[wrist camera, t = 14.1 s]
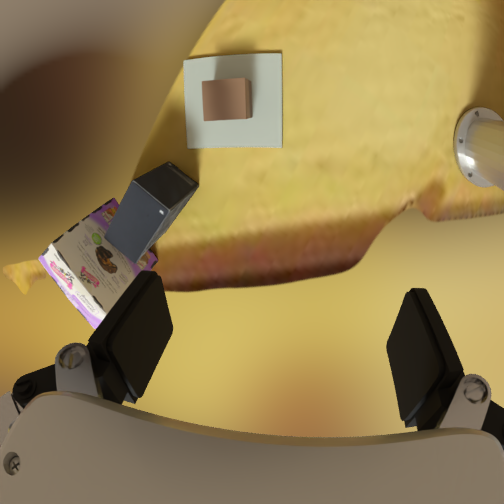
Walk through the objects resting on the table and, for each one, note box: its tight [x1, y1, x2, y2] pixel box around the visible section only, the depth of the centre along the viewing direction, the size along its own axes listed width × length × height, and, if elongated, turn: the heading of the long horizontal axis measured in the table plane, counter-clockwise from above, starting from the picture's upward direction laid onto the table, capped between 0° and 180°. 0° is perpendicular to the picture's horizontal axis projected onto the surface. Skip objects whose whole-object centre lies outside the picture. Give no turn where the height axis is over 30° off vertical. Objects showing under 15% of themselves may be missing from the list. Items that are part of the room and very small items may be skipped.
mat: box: [184, 53, 282, 149], centre depth 33 cm, size 13×13×1 cm
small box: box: [104, 162, 199, 264], centre depth 37 cm, size 11×6×10 cm, turn 141°
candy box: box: [38, 198, 158, 329], centre depth 39 cm, size 14×6×16 cm, turn 30°
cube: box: [202, 78, 252, 121], centre depth 31 cm, size 5×5×5 cm
